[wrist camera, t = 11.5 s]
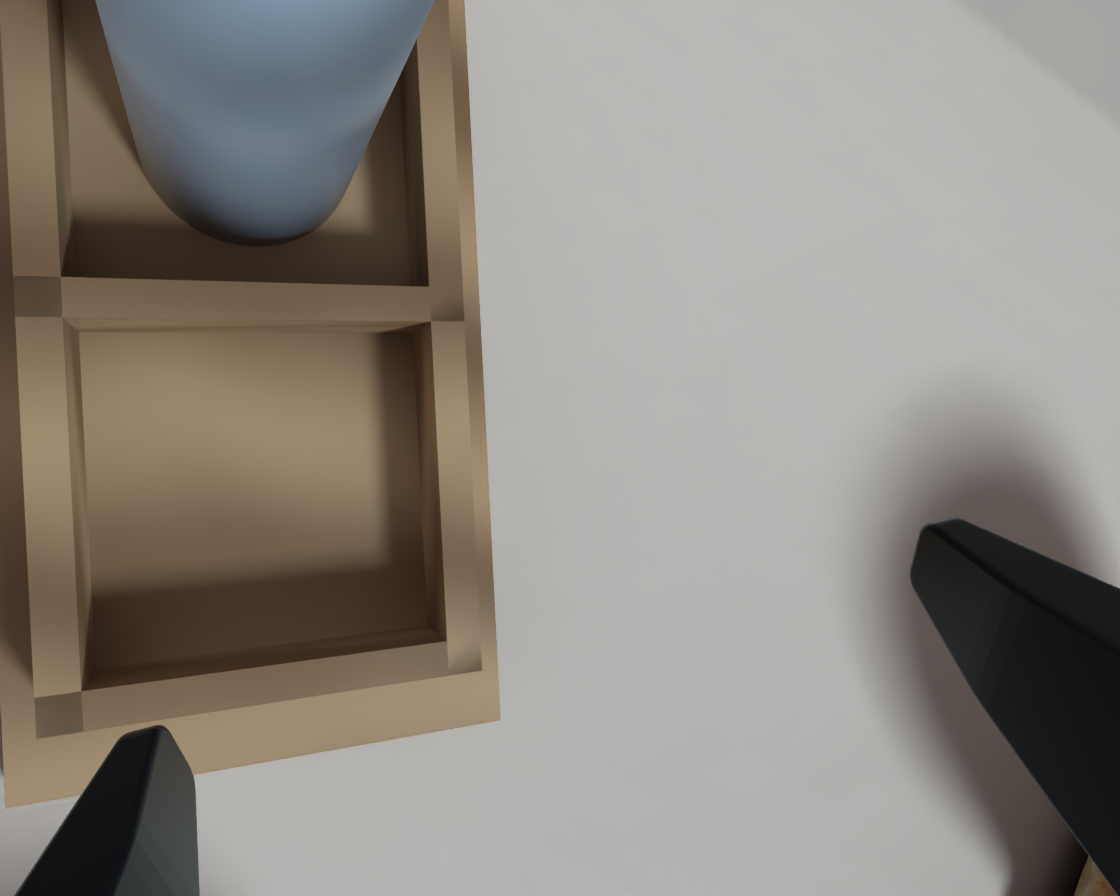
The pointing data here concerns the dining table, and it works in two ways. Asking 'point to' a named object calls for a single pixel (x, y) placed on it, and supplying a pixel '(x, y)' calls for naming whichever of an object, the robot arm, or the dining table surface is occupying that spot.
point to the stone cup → (1093, 882)
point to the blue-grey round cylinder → (256, 103)
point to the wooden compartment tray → (234, 436)
